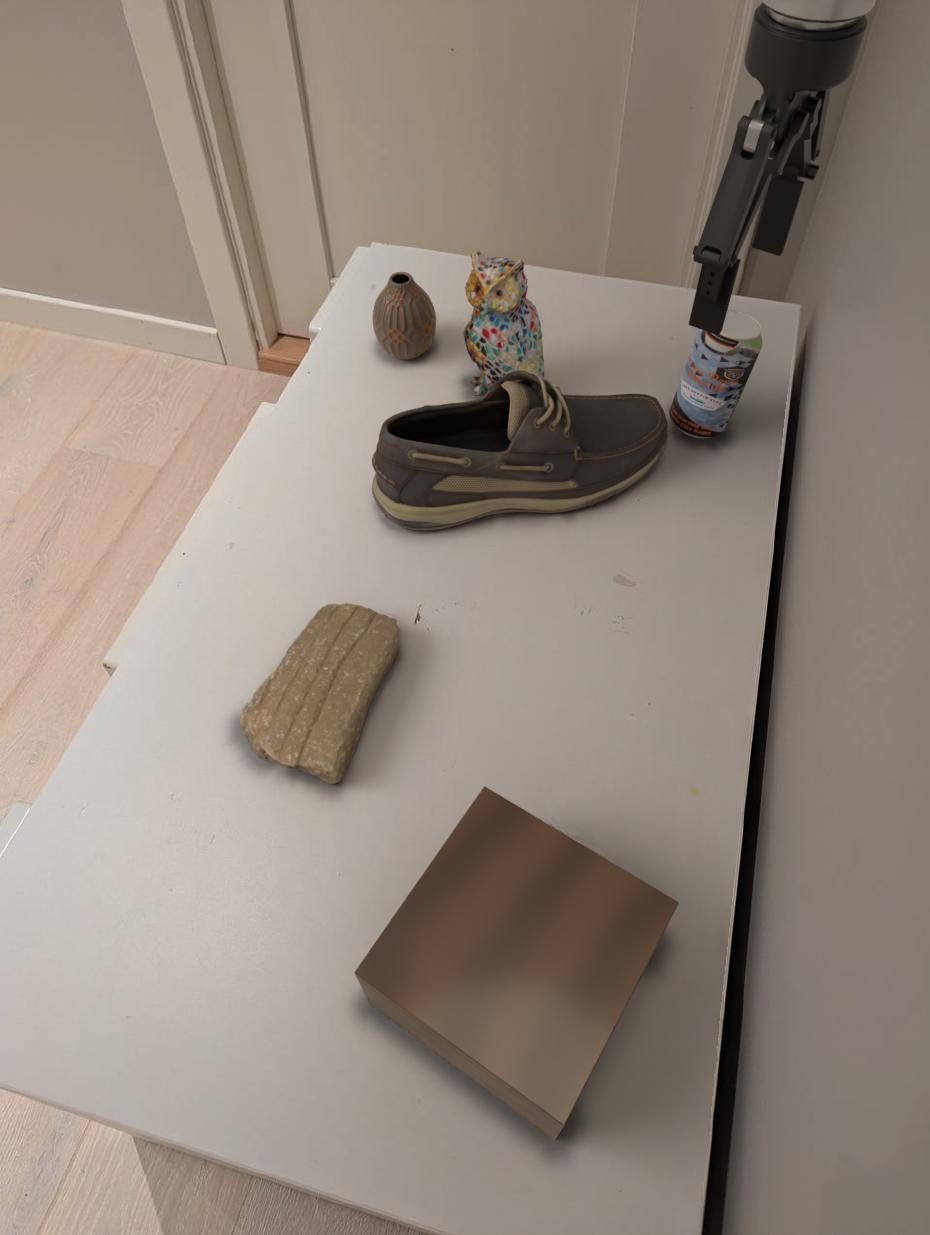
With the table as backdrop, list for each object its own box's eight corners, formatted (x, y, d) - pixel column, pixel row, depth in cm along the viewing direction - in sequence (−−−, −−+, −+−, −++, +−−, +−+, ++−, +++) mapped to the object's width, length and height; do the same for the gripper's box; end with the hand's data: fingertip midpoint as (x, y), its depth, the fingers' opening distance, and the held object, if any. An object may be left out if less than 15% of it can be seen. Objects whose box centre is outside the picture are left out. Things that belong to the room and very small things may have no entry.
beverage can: (654, 425, 89) (675, 324, 79) (701, 393, 91) (727, 292, 82) (702, 457, 86) (730, 356, 76) (749, 423, 88) (781, 322, 79)
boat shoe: (685, 483, 84) (708, 395, 75) (396, 564, 78) (384, 479, 70) (635, 412, 90) (651, 323, 81) (364, 483, 84) (350, 396, 76)
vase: (386, 326, 99) (378, 255, 92) (444, 334, 98) (441, 263, 91) (368, 363, 95) (358, 292, 88) (428, 372, 94) (423, 301, 87)
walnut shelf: (658, 939, 59) (679, 902, 52) (554, 1140, 52) (564, 1125, 45) (484, 832, 63) (484, 785, 57) (369, 1003, 57) (353, 972, 50)
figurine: (469, 420, 90) (466, 291, 77) (461, 365, 95) (457, 236, 83) (551, 413, 90) (561, 284, 78) (539, 359, 95) (546, 230, 83)
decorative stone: (412, 633, 74) (409, 609, 71) (341, 794, 65) (334, 774, 62) (307, 605, 76) (300, 580, 73) (224, 758, 67) (213, 737, 64)
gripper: (824, -60, 66) (752, 209, 83) (682, 65, 54) (634, 348, 71) (923, -41, 63) (828, 232, 80) (798, 94, 51) (718, 380, 69)
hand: (737, 287), depth 76 cm, fingers open, 13 cm apart
